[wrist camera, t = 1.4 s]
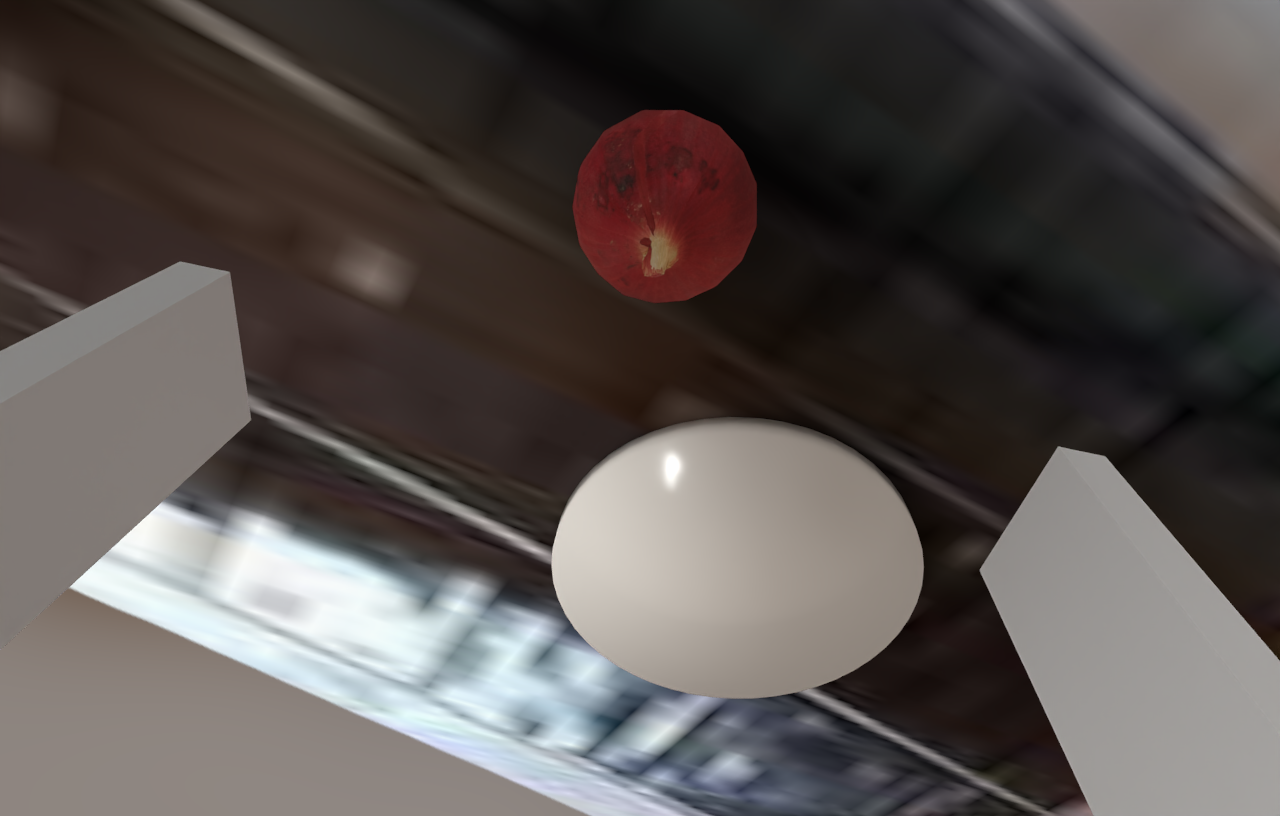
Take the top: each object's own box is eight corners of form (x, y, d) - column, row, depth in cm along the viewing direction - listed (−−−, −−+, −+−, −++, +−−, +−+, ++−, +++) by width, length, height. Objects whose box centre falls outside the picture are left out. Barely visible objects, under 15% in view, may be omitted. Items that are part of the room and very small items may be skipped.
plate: (581, 380, 29) (577, 394, 28) (982, 462, 30) (992, 479, 29) (538, 646, 39) (534, 663, 38) (842, 705, 39) (846, 724, 38)
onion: (561, 144, 24) (505, 203, 17) (708, 61, 22) (708, 90, 16) (637, 282, 27) (614, 381, 20) (775, 217, 25) (800, 301, 18)
